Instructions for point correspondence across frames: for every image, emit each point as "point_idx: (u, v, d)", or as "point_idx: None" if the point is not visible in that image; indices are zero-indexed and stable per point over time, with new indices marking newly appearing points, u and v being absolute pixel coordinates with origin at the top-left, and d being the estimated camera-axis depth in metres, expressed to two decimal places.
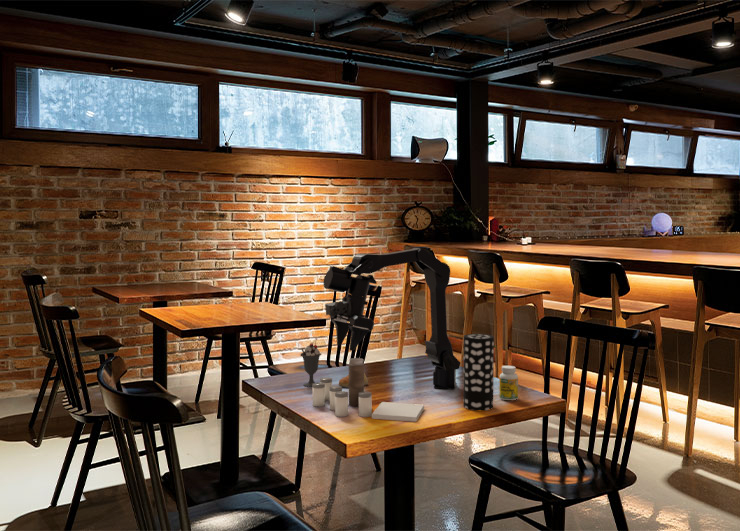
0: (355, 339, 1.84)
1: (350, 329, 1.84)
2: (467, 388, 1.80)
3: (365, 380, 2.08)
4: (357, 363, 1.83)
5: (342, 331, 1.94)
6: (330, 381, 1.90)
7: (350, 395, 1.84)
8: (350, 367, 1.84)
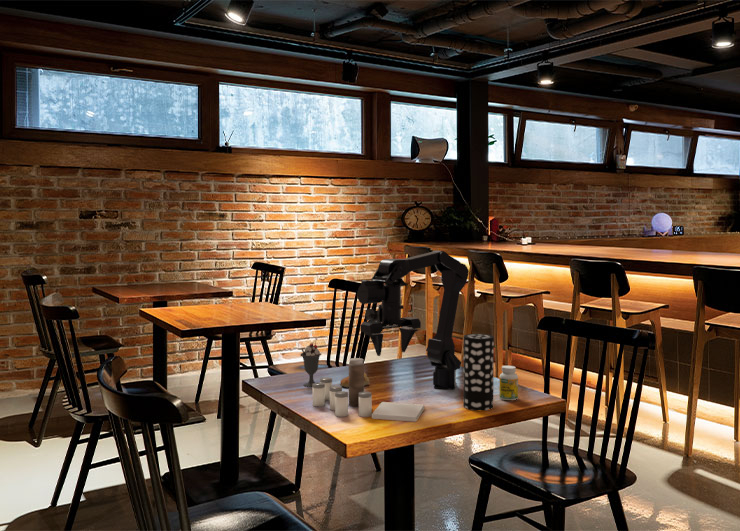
0: (375, 344, 1.89)
1: None
2: (467, 388, 1.80)
3: (366, 380, 2.08)
4: (357, 363, 1.83)
5: (404, 338, 1.95)
6: (330, 381, 1.90)
7: (350, 395, 1.84)
8: (350, 367, 1.84)
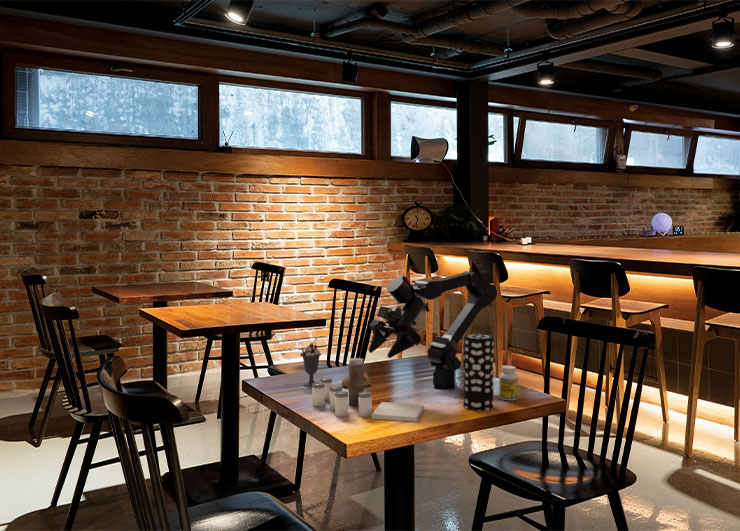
0: (397, 348, 1.86)
1: (397, 336, 1.86)
2: (467, 388, 1.80)
3: (368, 380, 2.08)
4: (357, 363, 1.83)
5: (377, 341, 1.95)
6: (330, 381, 1.90)
7: (350, 395, 1.84)
8: (350, 367, 1.84)
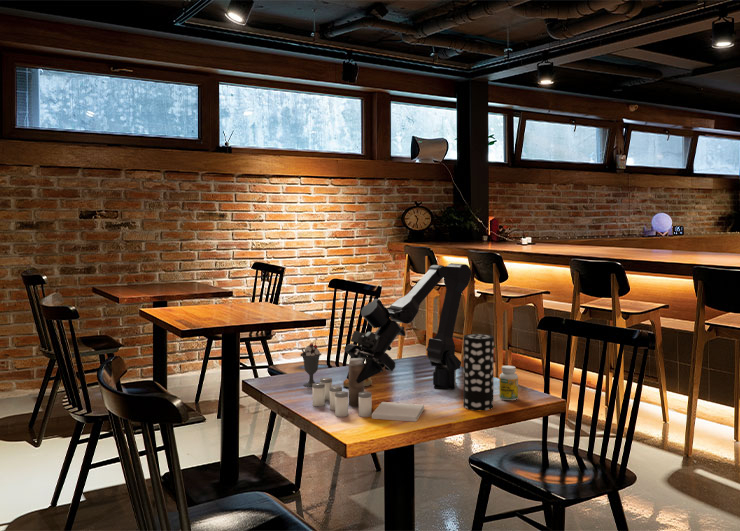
0: (366, 373, 1.83)
1: (366, 361, 1.83)
2: (467, 388, 1.80)
3: (369, 380, 2.08)
4: (357, 363, 1.83)
5: None
6: (330, 381, 1.90)
7: (350, 395, 1.84)
8: (350, 367, 1.84)
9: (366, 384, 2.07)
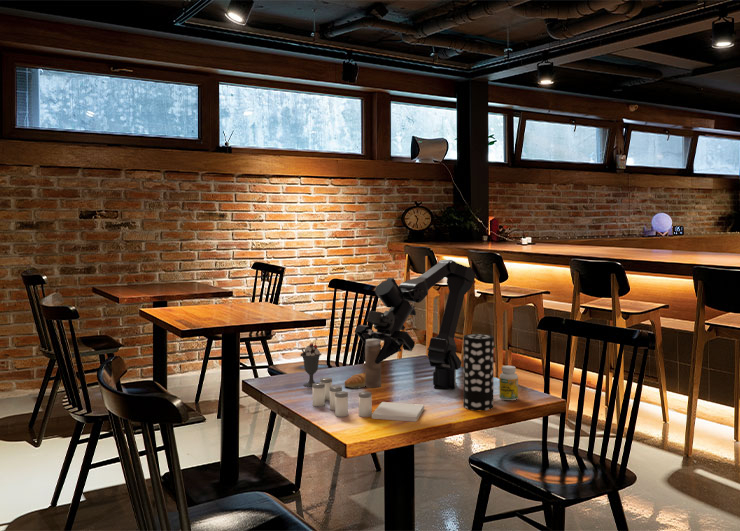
0: (385, 353, 1.79)
1: (384, 341, 1.79)
2: (467, 388, 1.80)
3: None
4: (376, 343, 1.79)
5: None
6: (330, 381, 1.90)
7: (368, 377, 1.79)
8: (368, 348, 1.79)
9: None
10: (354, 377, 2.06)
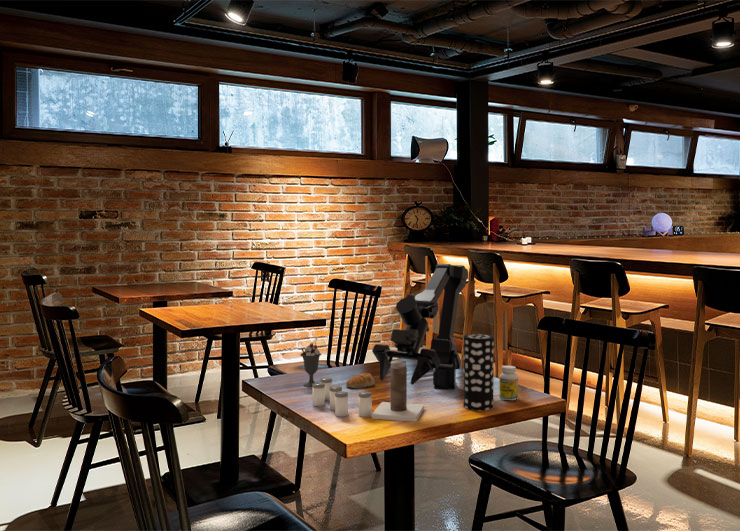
0: (419, 373, 1.74)
1: (418, 361, 1.74)
2: (467, 388, 1.80)
3: (372, 380, 2.07)
4: (403, 365, 1.74)
5: (385, 367, 1.80)
6: (330, 381, 1.90)
7: (395, 400, 1.75)
8: (395, 370, 1.74)
9: (369, 384, 2.06)
10: (356, 377, 2.06)
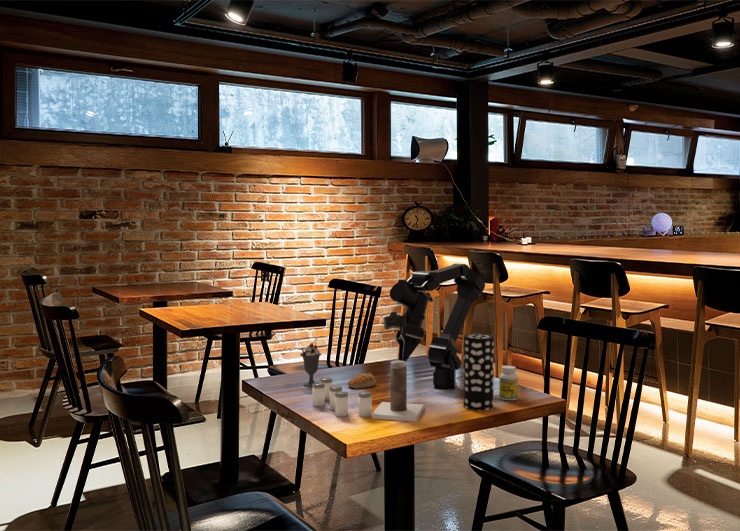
0: (407, 349, 1.85)
1: (402, 339, 1.86)
2: (467, 388, 1.80)
3: (373, 380, 2.07)
4: (403, 365, 1.74)
5: None
6: (330, 381, 1.90)
7: (395, 400, 1.75)
8: (395, 370, 1.74)
9: (371, 384, 2.06)
10: (357, 377, 2.06)
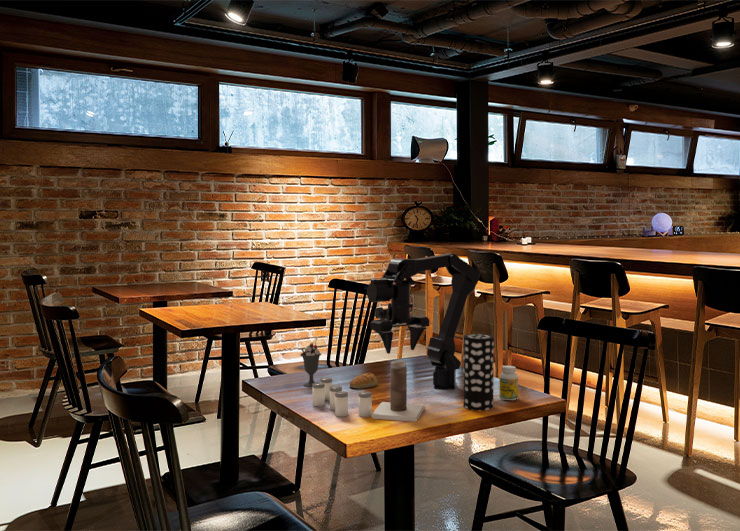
0: (385, 342, 1.93)
1: None
2: (467, 388, 1.80)
3: (375, 380, 2.07)
4: (403, 365, 1.74)
5: (413, 336, 1.98)
6: (330, 381, 1.90)
7: (395, 400, 1.75)
8: (395, 370, 1.74)
9: (372, 384, 2.06)
10: (359, 378, 2.05)
